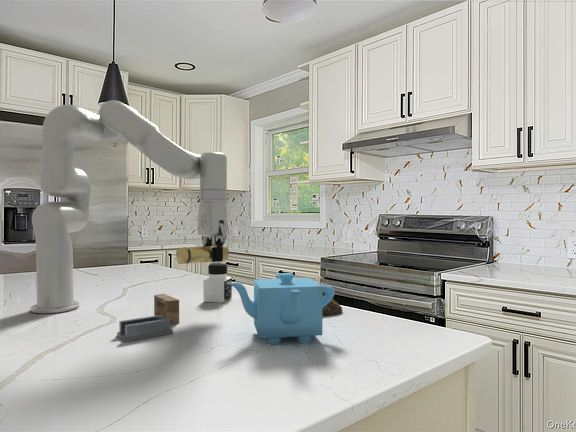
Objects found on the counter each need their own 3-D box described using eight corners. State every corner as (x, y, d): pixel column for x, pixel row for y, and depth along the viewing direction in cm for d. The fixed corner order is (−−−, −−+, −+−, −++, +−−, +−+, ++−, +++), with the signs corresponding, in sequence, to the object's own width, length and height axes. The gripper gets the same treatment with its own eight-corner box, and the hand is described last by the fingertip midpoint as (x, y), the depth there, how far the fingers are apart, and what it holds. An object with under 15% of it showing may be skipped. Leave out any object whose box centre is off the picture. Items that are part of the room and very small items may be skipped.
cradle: (116, 335, 100) (116, 321, 100) (162, 327, 107) (162, 314, 107) (124, 342, 95) (124, 327, 95) (172, 333, 102) (172, 319, 102)
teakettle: (340, 334, 101) (340, 272, 101) (296, 356, 86) (296, 283, 86) (275, 322, 112) (275, 266, 112) (226, 340, 97) (226, 275, 97)
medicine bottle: (224, 303, 135) (224, 264, 135) (203, 302, 136) (202, 264, 136) (232, 298, 142) (231, 262, 142) (211, 297, 143) (211, 261, 143)
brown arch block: (154, 317, 118) (154, 295, 118) (164, 315, 119) (164, 293, 119) (167, 324, 110) (167, 301, 110) (179, 323, 111) (179, 299, 111)
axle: (181, 266, 115) (183, 250, 114) (175, 260, 119) (176, 245, 118) (227, 262, 124) (229, 247, 123) (220, 257, 127) (222, 243, 126)
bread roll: (304, 318, 117) (304, 300, 117) (294, 308, 129) (294, 291, 129) (348, 316, 120) (348, 298, 120) (335, 306, 132) (335, 290, 132)
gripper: (188, 196, 127) (188, 258, 127) (215, 195, 113) (214, 264, 114) (211, 197, 131) (211, 257, 132) (239, 196, 118) (239, 262, 118)
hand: (213, 260), depth 123 cm, fingers closed on axle, 4 cm apart
